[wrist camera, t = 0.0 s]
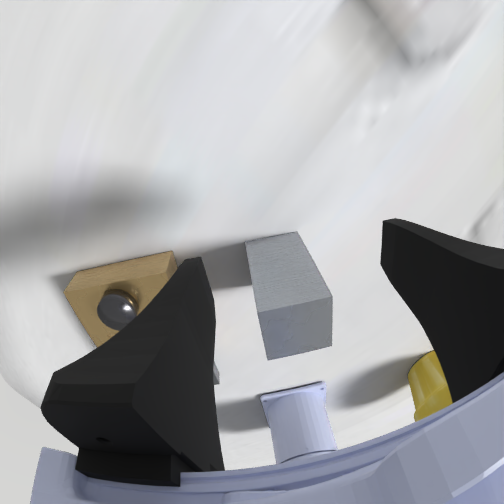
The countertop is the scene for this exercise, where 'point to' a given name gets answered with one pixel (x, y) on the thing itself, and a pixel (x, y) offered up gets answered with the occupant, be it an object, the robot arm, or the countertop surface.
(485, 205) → the countertop surface
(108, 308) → the brass plate with knob
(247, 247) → the grey metal block
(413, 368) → the plant pot
